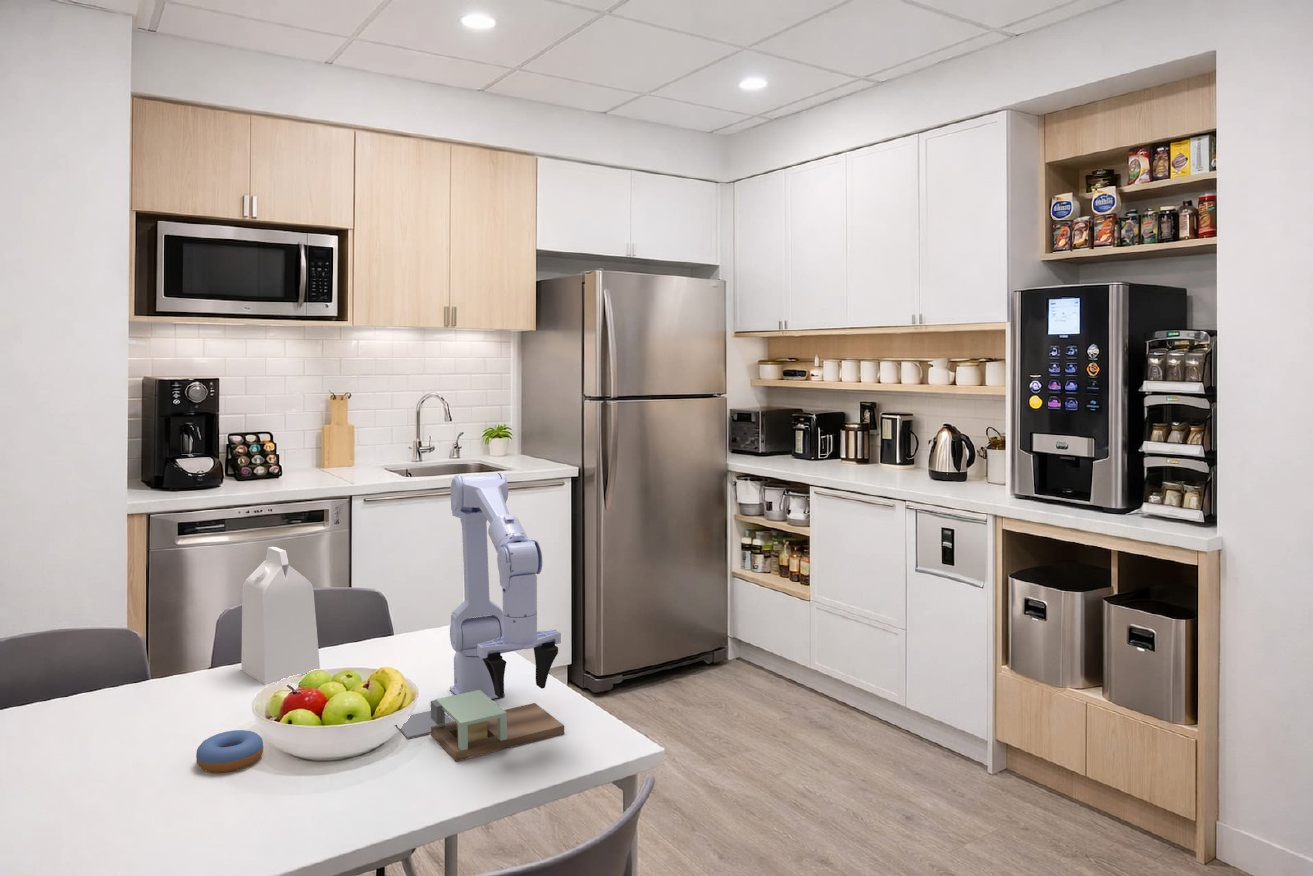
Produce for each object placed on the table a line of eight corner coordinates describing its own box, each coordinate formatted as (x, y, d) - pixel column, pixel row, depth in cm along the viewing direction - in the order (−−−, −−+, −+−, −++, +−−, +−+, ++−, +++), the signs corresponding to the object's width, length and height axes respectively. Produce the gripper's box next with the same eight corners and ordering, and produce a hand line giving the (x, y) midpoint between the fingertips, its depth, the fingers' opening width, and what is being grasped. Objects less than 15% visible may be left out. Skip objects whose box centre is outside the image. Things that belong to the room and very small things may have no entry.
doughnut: (233, 741, 150) (231, 717, 149) (278, 755, 147) (276, 730, 146) (182, 772, 141) (180, 746, 140) (228, 787, 138) (226, 761, 137)
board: (431, 735, 154) (431, 726, 154) (534, 710, 165) (534, 702, 165) (455, 761, 144) (455, 752, 144) (564, 733, 155) (564, 725, 155)
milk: (320, 670, 185) (316, 549, 183) (264, 685, 177) (260, 558, 174) (295, 656, 193) (291, 540, 191) (241, 670, 185) (237, 548, 183)
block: (456, 741, 152) (456, 713, 151) (478, 735, 154) (478, 708, 154) (465, 749, 149) (465, 721, 148) (487, 744, 151) (487, 716, 150)
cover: (430, 726, 154) (430, 700, 153) (480, 715, 159) (479, 689, 158) (455, 752, 144) (454, 724, 143) (507, 739, 149) (506, 712, 148)
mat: (392, 721, 160) (392, 719, 160) (440, 710, 165) (440, 708, 165) (407, 739, 152) (407, 737, 152) (457, 727, 157) (457, 725, 157)
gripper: (488, 626, 140) (489, 708, 141) (569, 611, 148) (569, 689, 149) (471, 615, 146) (472, 694, 147) (550, 602, 154) (550, 677, 155)
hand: (520, 691), depth 148 cm, fingers open, 7 cm apart
